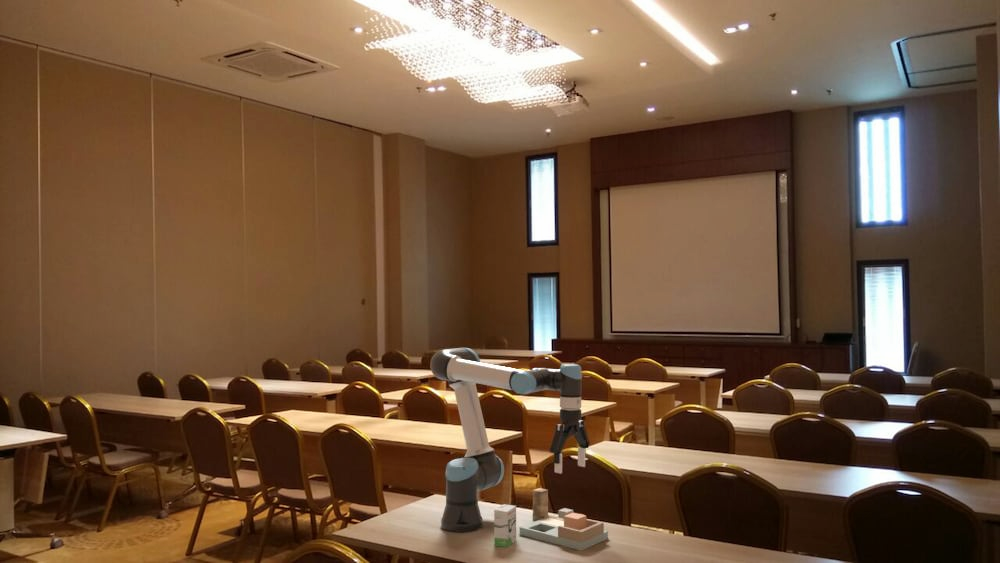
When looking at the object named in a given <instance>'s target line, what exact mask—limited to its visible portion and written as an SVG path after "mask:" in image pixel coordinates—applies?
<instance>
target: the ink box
mask: <svg viewBox="0 0 1000 563" xmlns="http://www.w3.org/2000/svg"><path fill="white" fill-rule="evenodd" d="M493 513H494V514H493V517H494V519H493V523H494V524H493V526H494V528H493V529H494V531H493V533H494V534H493V535H494V536H493V537H494V542H493V544H494V545H493V546H495V547H503V548H504V547H505V548H508V547H510V546H511V545H512V544H513V543H514V542H516V541H517V505H512V504H505V503H504V504H502V505H499V506H498V507H496V508H495V509H494V511H493Z"/></svg>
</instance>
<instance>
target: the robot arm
mask: <svg viewBox="0 0 1000 563" xmlns="http://www.w3.org/2000/svg"><path fill="white" fill-rule="evenodd" d="M429 364H430V365H429V366H430V371H431V373H432V374H433V376H434V377H435V378H437V379H438V380H441V381H448V382H447V383H448V386H449V387H450V388H452V389H453V390H454V396H455V400H456V405H457V409H458V414H459V419H460V423H461V424H460V425H461V428H462V429H461V430H462V432H463V438H464V442H465V446H466V453H465V455H464V457H461V458H455V459H452V460H451V461H449V462H447V465H446V467H445V475H444V476H445V507H444V509H443V513H442V517H441V519H440V527H441V528H442V530H446V531H449V532H452V533H453V532H454V533H455V532H456V533H467V532H468V533H469V532H473V531H477V530H480V529H481V528H482V527H483V526H484V520H483V517H482V514H481V510H480V505H479V492H482V491H484V490H486V489H492V488H494V487H495V486H496V485H498V484H499V483H500V482H501V481H502V479H503V477H504V475H505V474H504V473H505V467H504V466H505V465H504V462H503V460H502V459H501V458H500V457H499V456H498V455H497V454H496V451H495V449H494V448H493V447H491V446H490V444H489V440H488V439H489V437H488V435H487V430H486V425H485V421H484V416H483V412H482V406H481V403H480V398H479V393H478V390H477V386H476V385H477V384H480V385H484V386H490V387H495V388H500V389H503V390H511V391H514V392H515V393H516V394H518V395H529V394H532V393H536V392H543V391H547V390H549V391H557V392H558V391H559V407H560V409H559V419H560V420H561V424H558V423H556V424H555V431H554V435H553V439H552V443H551V446H550V449H549V452H550V453H551V454H553V462H554V473H556V474H560V475H561V474H563V453H562V451H563V449H564V446H565V444H566V442H567V440H568V439H570V437H571V436H574V439H575V441H576V443H577V444H578V446H579V447H577V467H582V468H586V452H587V449H589V446H590V439H589V436H588V433H587V429H586V424H585V423H586V422H585V420H582V409H581V408H582V379H583V377H582V376H583V374H582V367H581V366H580V365H579V364H577V363H564V364H563V363H562V364H561V365H560V367H559V369H557V368H556V369H555V368H546V367H534V368H532V369H531V370H524V369H520V368H519V369H518V368H512V367H506V366H503V365H502V366H501V365H496V364H489V363H484V362H481V359H480V357H479V355H478V354H477V352H475V351H474V350H473V349H472V348H468V347H457V348H446V349H445V348H444V349H440V350H439V351H437V352H436V353H434V355H433V356H432V357H431V359H430V363H429Z"/></svg>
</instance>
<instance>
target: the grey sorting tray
mask: <svg viewBox="0 0 1000 563" xmlns="http://www.w3.org/2000/svg"><path fill="white" fill-rule="evenodd" d="M604 524H605V522H603V521H597V520H593V519H589V518H586V526H587V528H584V529H582V530H576V529H572V528H568V527H564V521H562V520H558V519H554V518H550V517H546V518H543V519H540V520H538V521H535V520H534V521H533V522H530V523H526V524H525V525H524V524H523V525H522V526H519V535H521V536H525V537H528V538H532V539H535V540H538V541H543V542H546V543H547V542H548V543H551V544H555V545H559V546H562V547H566V548H570V549H574V550H577V551H581V552H582V551H584V550H586V549H589V548H591V547H593V546H594V545H597V544H599V543H602V542H603V541H606V540H608V539H609V531H607V530H605V527H604V526H605V525H604Z"/></svg>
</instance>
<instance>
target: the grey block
mask: <svg viewBox="0 0 1000 563" xmlns="http://www.w3.org/2000/svg"><path fill="white" fill-rule="evenodd" d="M557 511H558V512H557V515H558V516H557V517H558V518H563V519H564V516H566V515H568V514H571V513H574V509H570V508H566V507H563V508H560V509H559V510H557Z"/></svg>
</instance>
